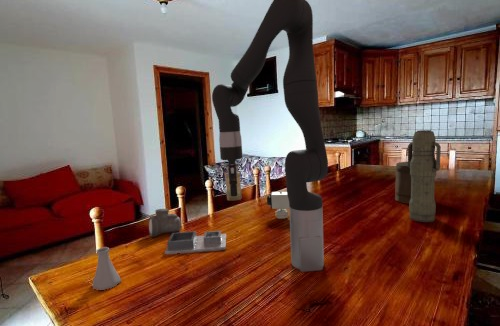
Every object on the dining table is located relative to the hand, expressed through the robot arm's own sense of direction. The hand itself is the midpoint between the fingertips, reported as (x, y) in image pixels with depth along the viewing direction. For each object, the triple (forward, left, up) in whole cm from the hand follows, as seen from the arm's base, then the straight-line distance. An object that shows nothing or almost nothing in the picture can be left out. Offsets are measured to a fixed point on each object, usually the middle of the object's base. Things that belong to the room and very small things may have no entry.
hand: (234, 194), depth 101 cm
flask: (-22, +36, -18) cm, 46 cm away
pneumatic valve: (+23, -20, -18) cm, 35 cm away
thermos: (+9, -74, -18) cm, 77 cm away
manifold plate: (0, +14, -17) cm, 22 cm away
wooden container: (+34, -86, -18) cm, 94 cm away
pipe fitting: (+14, +28, -18) cm, 36 cm away
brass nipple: (0, 0, -2) cm, 2 cm away
